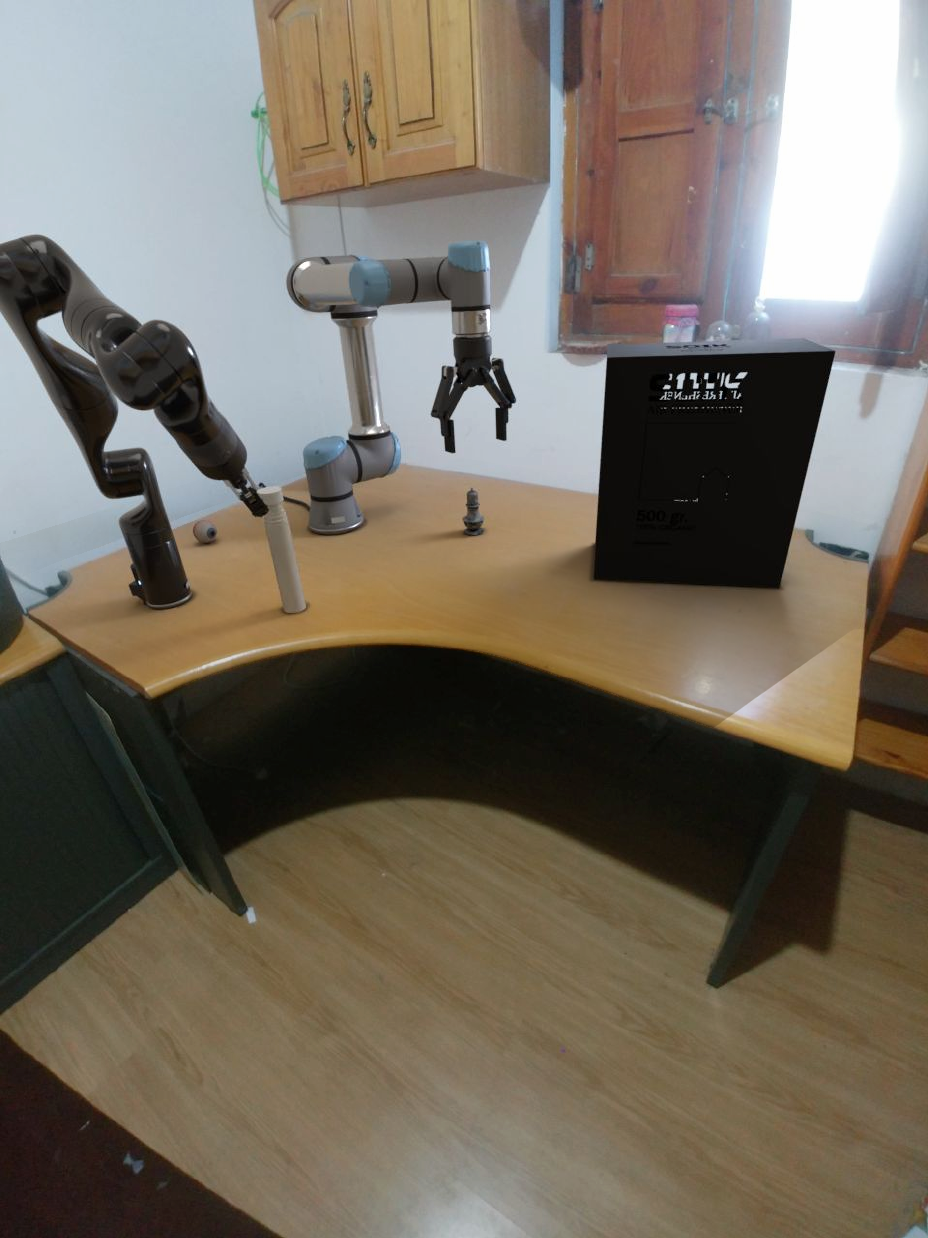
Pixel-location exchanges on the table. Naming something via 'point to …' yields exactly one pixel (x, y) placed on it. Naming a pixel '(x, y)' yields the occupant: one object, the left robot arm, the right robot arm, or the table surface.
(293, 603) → the bottle
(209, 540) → the eyeball
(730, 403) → the cardboard box
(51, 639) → the table surface
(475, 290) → the right robot arm
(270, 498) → the cap
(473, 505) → the salt shaker
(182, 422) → the left robot arm
